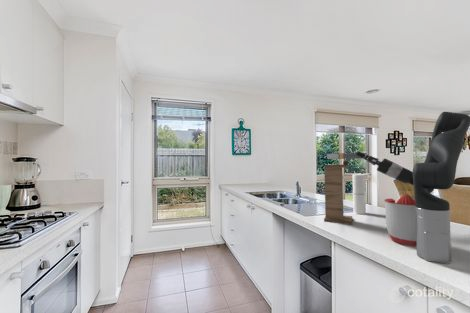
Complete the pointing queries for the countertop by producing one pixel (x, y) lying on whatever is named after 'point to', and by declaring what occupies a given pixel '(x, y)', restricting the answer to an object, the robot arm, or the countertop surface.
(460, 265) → the countertop surface
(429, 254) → the robot arm
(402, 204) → the citrus juicer
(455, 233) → the countertop surface
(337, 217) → the stand
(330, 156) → the cord plug
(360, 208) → the cylindrical container
